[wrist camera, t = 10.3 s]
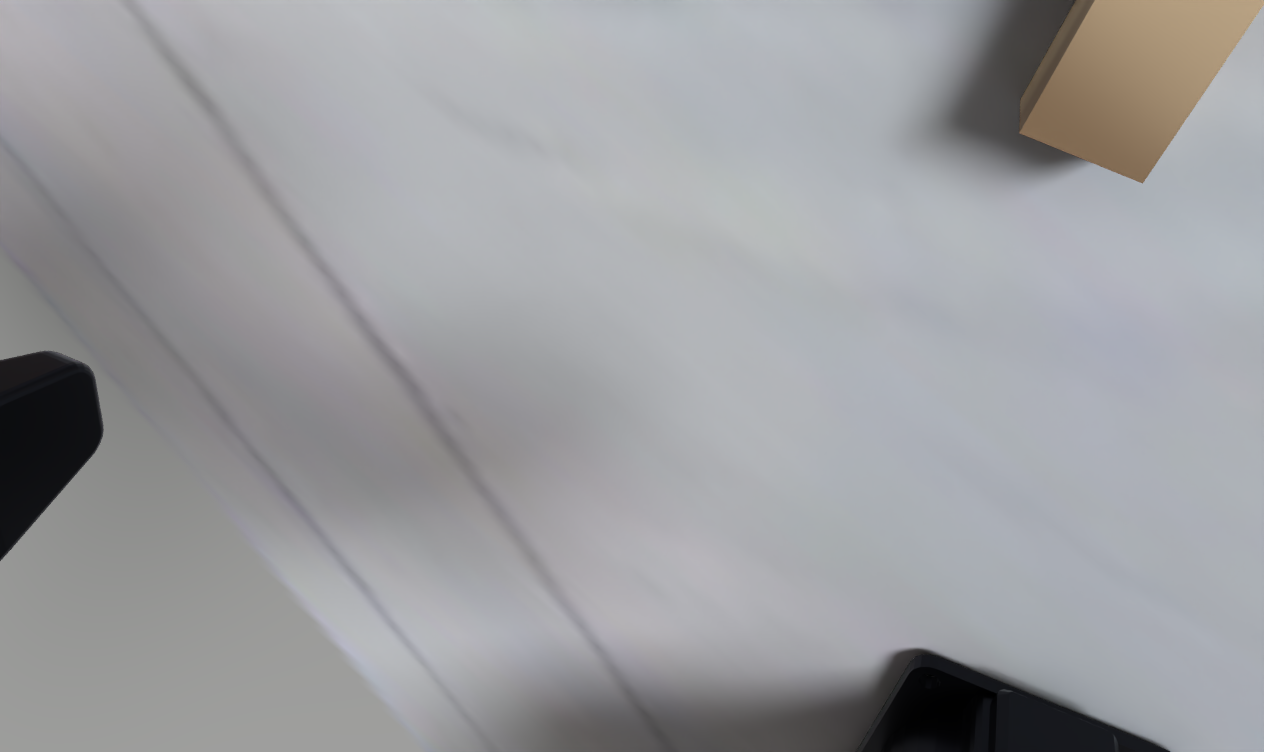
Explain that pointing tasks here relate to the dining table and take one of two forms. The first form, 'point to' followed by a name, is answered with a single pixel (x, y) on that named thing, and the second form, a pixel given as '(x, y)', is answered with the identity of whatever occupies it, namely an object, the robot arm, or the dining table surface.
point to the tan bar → (1129, 76)
